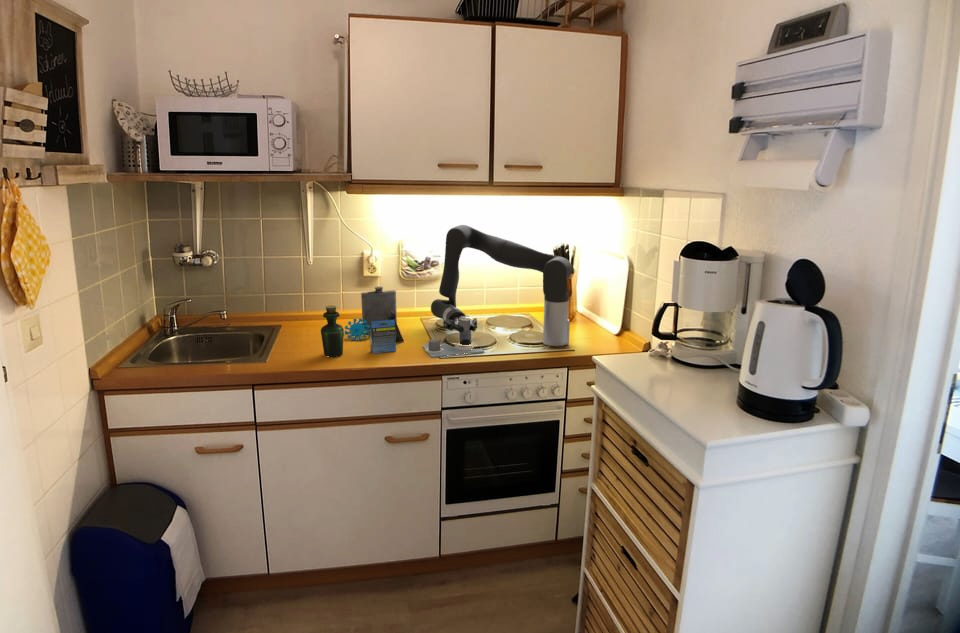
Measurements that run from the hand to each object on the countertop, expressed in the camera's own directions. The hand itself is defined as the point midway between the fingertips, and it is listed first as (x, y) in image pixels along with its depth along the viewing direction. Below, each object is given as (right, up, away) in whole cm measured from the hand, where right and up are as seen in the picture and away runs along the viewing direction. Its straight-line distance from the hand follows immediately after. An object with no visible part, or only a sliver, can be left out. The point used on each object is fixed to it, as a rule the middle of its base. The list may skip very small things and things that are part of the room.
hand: (467, 329), depth 233 cm
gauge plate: (-6, -8, +3) cm, 10 cm away
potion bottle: (-49, -9, -4) cm, 50 cm away
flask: (-37, -1, +30) cm, 47 cm away
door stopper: (-30, -5, +13) cm, 33 cm away
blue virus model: (-43, -4, +16) cm, 46 cm away
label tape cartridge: (-31, -8, +1) cm, 32 cm away
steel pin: (-1, -5, +4) cm, 7 cm away
